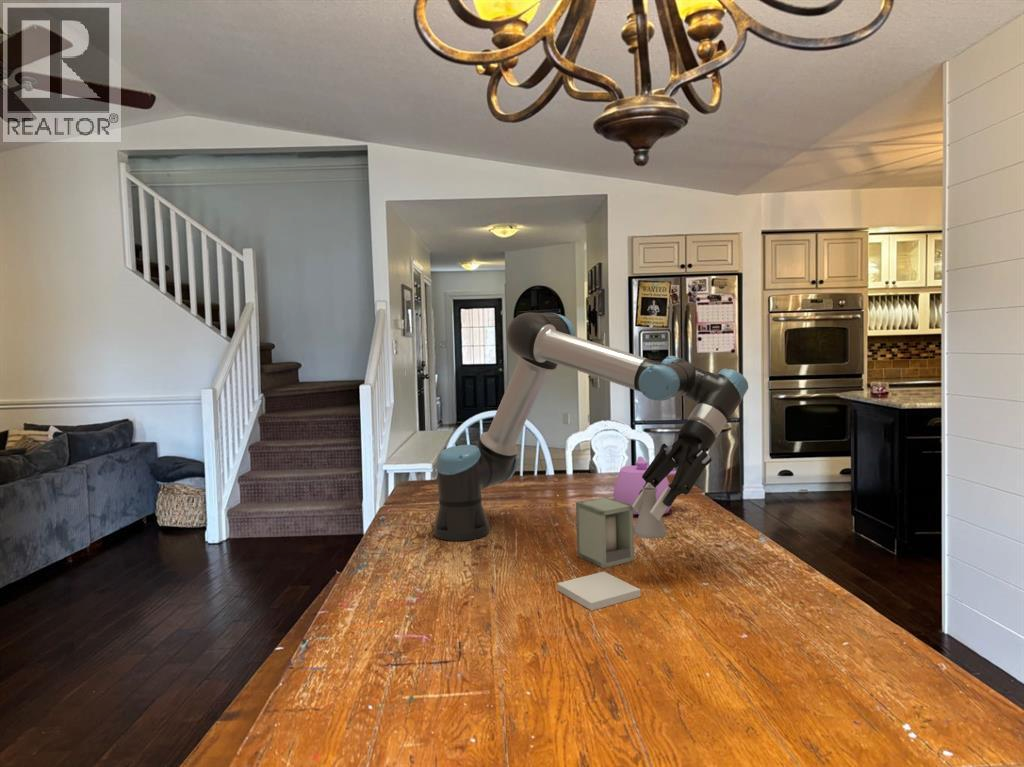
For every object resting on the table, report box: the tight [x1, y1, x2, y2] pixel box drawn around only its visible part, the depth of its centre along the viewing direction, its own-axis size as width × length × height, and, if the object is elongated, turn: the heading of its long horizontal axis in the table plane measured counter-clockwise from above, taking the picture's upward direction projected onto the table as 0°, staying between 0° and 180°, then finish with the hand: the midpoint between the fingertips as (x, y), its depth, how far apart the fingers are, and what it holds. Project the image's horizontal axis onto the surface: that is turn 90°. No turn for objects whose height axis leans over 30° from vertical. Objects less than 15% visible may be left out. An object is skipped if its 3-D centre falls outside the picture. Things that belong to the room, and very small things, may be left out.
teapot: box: [612, 456, 677, 516], centre depth 191 cm, size 23×21×15 cm
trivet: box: [556, 571, 641, 611], centre depth 129 cm, size 12×12×2 cm
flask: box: [633, 487, 668, 540], centre depth 134 cm, size 7×7×10 cm
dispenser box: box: [575, 496, 635, 569], centre depth 149 cm, size 10×9×13 cm
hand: (645, 513), depth 134 cm, fingers closed on flask, 5 cm apart
